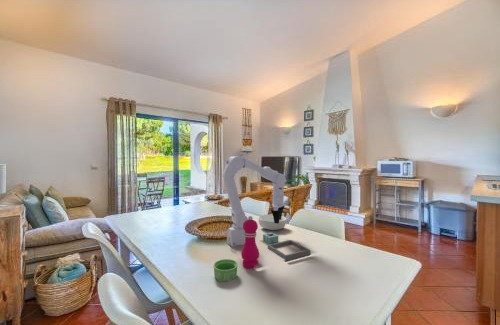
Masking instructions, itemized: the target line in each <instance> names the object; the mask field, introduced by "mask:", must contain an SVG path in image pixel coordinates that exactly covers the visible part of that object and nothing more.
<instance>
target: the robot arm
mask: <svg viewBox="0 0 500 325" xmlns="http://www.w3.org/2000/svg"><path fill="white" fill-rule="evenodd" d="M243 168H244V169H245V168H247V169H250V170H252V171H255V172H257V173H259V174H260V177H262V178H264V179H265V180H268V181H270V182H272V203H271V206H272V207H273V208H272V209H270V212H271V215H273V218H274V223H279V220H281V217H282V216H283V211H284V209H285V207H286V206H287V204H286V203H284V200H285V199H284V197H285V196H284V194H285V192H284V189H285V188H284V187H285V183H286V181H287V178H286V176H285V175H284V174H283V173H280V172H279V171H278V170H274V169H272V168H271V167H270V166H261V165H259V164H257V163H255V162H253V161H251V160H250V159H248V158H245V157H242V156H239V155H235V156H234V155H232V156H230V157H228V159H227V160H226V161H225V164H224V169H223V172H222V177H223V181H224V185H225V188H226V189H225V190H226V192H227V195H228V196H227V197H228V200H229V203H230V204H229V205H230V208H231V210H230V211H231V218H230V219H231V222H232V225H231V227H228V228H227V230H226V242H227V243H226V244H227V245H228V246H230V248H232V247H236V246H244V245H245V236H244V232H245V231H244V229H243V223H244V222H245V221H246V220H248V216H246V213H245V211H244V209H243V207H242V203H241V200H240V197H239V196H240V195H239V192H238V188H237V183H236V181H235V176H236V174H237V173H238V172H239V171H240V170H241V169H243Z"/></svg>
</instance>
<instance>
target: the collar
mask: <svg viewBox="0 0 500 325" xmlns="http://www.w3.org/2000/svg"><path fill="white" fill-rule="evenodd" d="M271 233H272V234H273V235H272V236H269V235H268V234H271ZM262 240H263V241H264V242H265V243H268V244H269V245H270V244H274V243H278V241H279V235H278V234H276V233H274V232H268V233H267V232H266V233H263V234H262Z"/></svg>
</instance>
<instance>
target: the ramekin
mask: <svg viewBox="0 0 500 325" xmlns="http://www.w3.org/2000/svg"><path fill="white" fill-rule="evenodd" d="M238 267H239V264H238V262H237V261H236V260H234V259H231V258H225V259H220V260H217V261H215V262H214V263H213V266H212V268H213V272H214V273H213V274H214V278H215V279H216V280H217V281H219V282H230V281H233V280H235V279H236V278H237V272H238Z"/></svg>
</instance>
